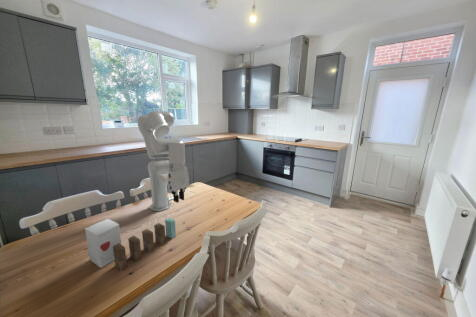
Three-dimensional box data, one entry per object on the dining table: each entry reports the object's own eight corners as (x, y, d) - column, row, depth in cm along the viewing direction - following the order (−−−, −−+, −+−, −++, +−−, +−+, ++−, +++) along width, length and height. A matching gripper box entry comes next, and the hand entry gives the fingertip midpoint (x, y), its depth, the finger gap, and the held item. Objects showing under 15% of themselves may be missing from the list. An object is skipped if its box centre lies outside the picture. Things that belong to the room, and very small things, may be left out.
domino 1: (121, 262, 79) (119, 243, 77) (127, 266, 76) (124, 247, 74) (115, 265, 77) (112, 246, 75) (121, 270, 74) (118, 250, 72)
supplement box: (100, 269, 75) (95, 235, 72) (89, 260, 79) (83, 228, 76) (123, 254, 83) (119, 223, 79) (112, 247, 87) (107, 217, 84)
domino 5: (170, 233, 98) (169, 217, 96) (175, 236, 96) (174, 220, 94) (166, 235, 96) (165, 219, 94) (171, 238, 94) (170, 222, 92)
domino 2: (135, 253, 84) (133, 235, 82) (141, 257, 81) (139, 239, 79) (130, 256, 82) (128, 238, 80) (136, 261, 79) (134, 242, 77)
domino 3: (148, 246, 89) (147, 228, 86) (154, 249, 86) (152, 232, 84) (143, 248, 87) (142, 231, 85) (149, 252, 84) (147, 234, 82)
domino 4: (159, 239, 93) (158, 222, 91) (165, 242, 91) (164, 225, 89) (155, 241, 91) (154, 225, 89) (161, 245, 89) (160, 228, 87)
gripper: (168, 171, 85) (170, 208, 89) (195, 163, 98) (195, 197, 102) (157, 168, 88) (160, 204, 93) (184, 161, 102) (186, 193, 106)
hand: (179, 200), depth 97 cm, fingers open, 2 cm apart
